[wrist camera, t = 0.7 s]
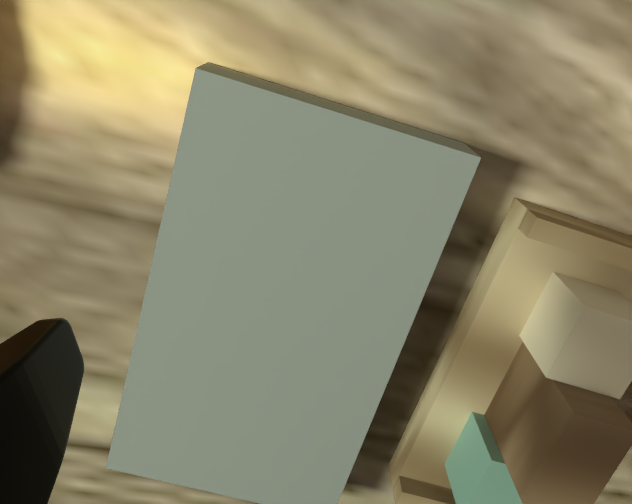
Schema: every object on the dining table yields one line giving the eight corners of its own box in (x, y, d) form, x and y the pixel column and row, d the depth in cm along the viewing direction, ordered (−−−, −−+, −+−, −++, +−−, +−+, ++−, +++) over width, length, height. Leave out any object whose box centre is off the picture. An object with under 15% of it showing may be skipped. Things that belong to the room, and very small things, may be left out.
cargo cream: (585, 355, 25) (620, 399, 22) (519, 335, 24) (546, 377, 21) (621, 293, 24) (662, 330, 21) (552, 271, 23) (585, 306, 20)
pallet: (518, 492, 30) (575, 626, 23) (387, 458, 29) (409, 586, 22) (662, 244, 25) (787, 325, 18) (510, 194, 24) (584, 260, 18)
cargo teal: (505, 480, 27) (527, 534, 24) (444, 464, 27) (459, 517, 24) (535, 429, 26) (561, 479, 23) (472, 411, 26) (491, 460, 23)
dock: (329, 478, 29) (330, 519, 26) (123, 429, 28) (105, 468, 25) (464, 143, 23) (481, 157, 20) (208, 62, 22) (195, 67, 19)
